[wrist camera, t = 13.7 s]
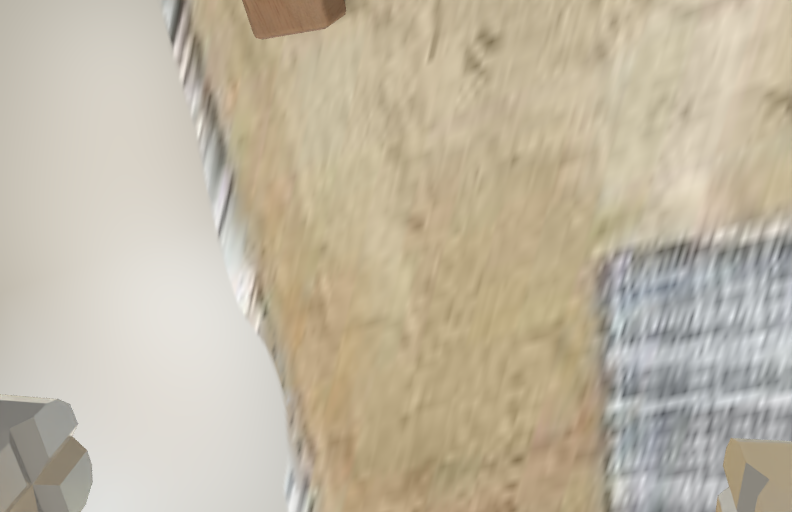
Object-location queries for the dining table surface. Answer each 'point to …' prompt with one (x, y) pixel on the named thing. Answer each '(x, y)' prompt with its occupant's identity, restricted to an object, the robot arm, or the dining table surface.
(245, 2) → the wooden block
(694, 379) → the dining table surface
